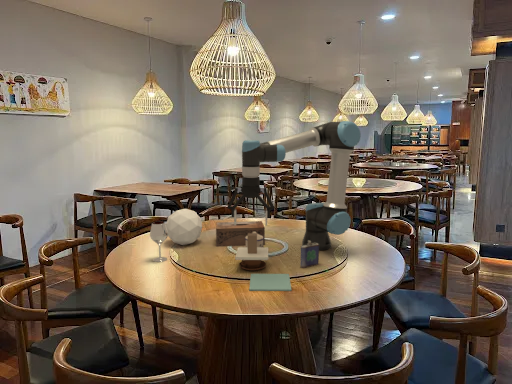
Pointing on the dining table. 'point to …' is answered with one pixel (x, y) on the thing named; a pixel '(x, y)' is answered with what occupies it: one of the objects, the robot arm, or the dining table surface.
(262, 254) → the lid
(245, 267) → the cup and saucer
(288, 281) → the mat
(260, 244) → the teacup with lid
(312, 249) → the flask
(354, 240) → the dining table surface
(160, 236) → the wineglass
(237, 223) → the tissue box cover
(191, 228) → the ball
